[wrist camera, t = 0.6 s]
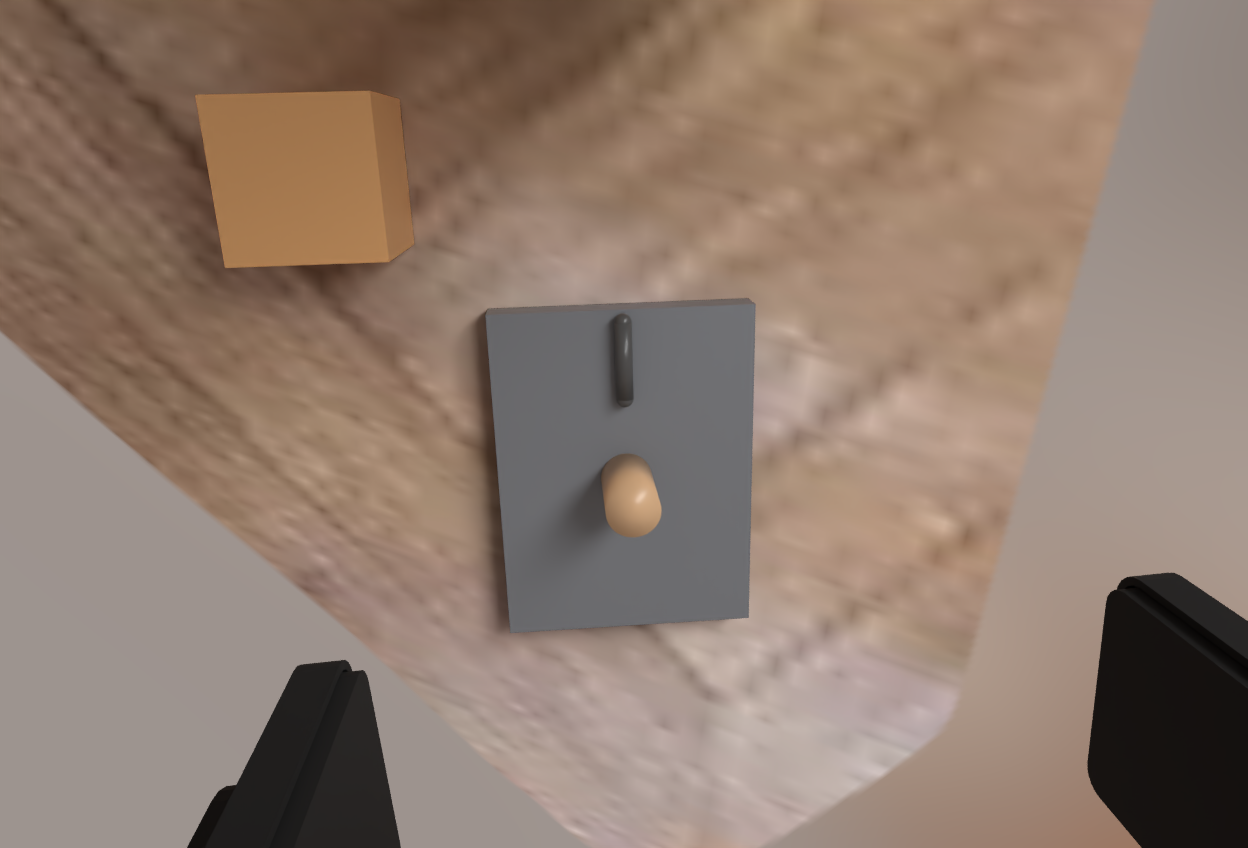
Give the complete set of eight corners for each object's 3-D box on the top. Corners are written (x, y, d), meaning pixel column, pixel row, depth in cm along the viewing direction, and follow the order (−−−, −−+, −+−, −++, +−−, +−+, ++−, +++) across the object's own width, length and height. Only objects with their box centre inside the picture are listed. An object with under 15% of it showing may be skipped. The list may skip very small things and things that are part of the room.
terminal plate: (488, 308, 39) (477, 334, 34) (748, 298, 39) (777, 321, 34) (511, 617, 44) (505, 681, 39) (742, 602, 45) (767, 663, 39)
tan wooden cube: (253, 102, 35) (194, 94, 30) (399, 99, 36) (369, 90, 30) (275, 249, 37) (225, 267, 32) (414, 244, 38) (388, 262, 32)
